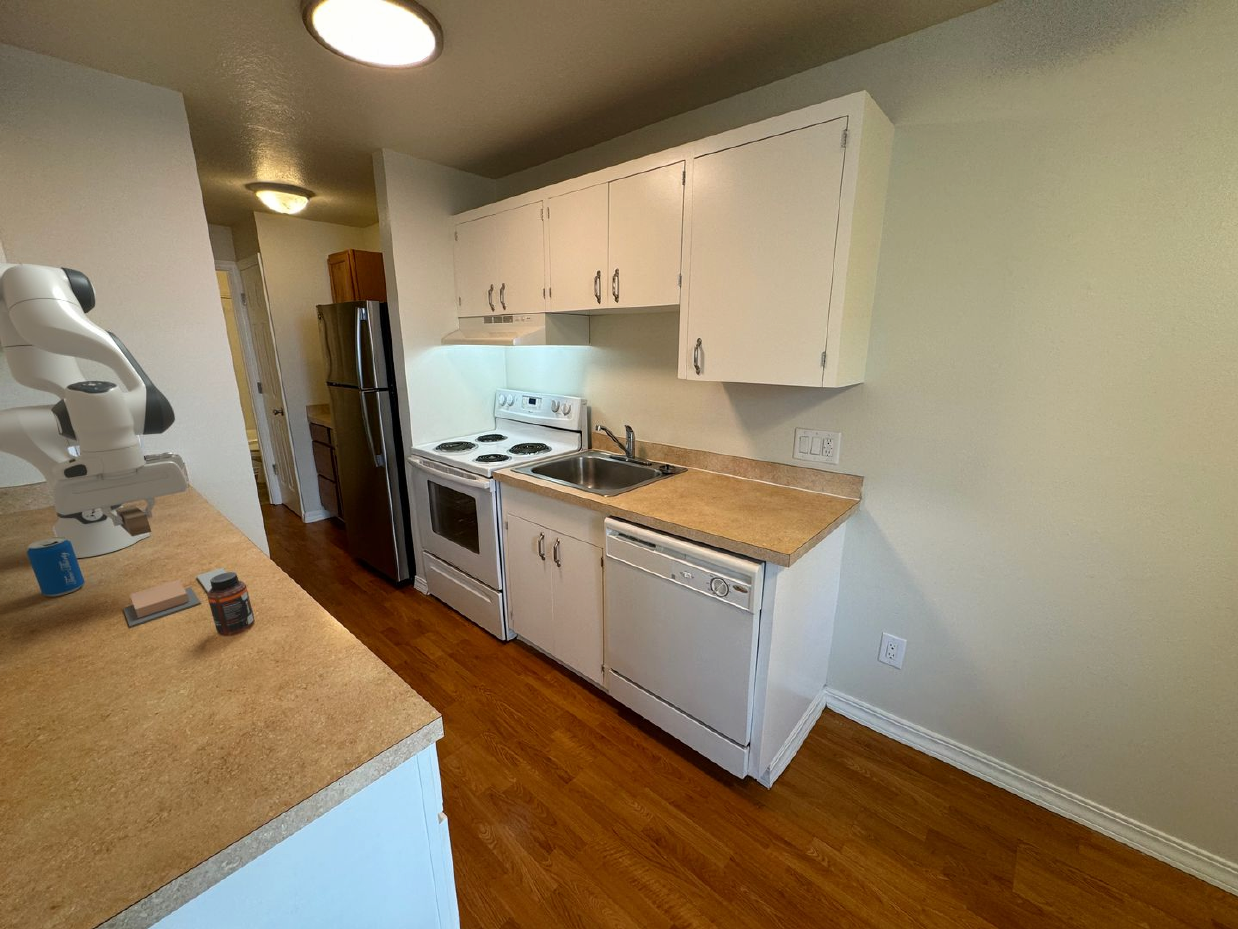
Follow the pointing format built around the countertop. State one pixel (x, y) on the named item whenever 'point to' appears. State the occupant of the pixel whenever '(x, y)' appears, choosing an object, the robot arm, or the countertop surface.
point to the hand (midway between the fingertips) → (133, 521)
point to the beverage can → (55, 566)
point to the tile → (159, 598)
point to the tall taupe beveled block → (134, 520)
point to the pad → (209, 578)
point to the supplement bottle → (230, 604)
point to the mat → (135, 621)
